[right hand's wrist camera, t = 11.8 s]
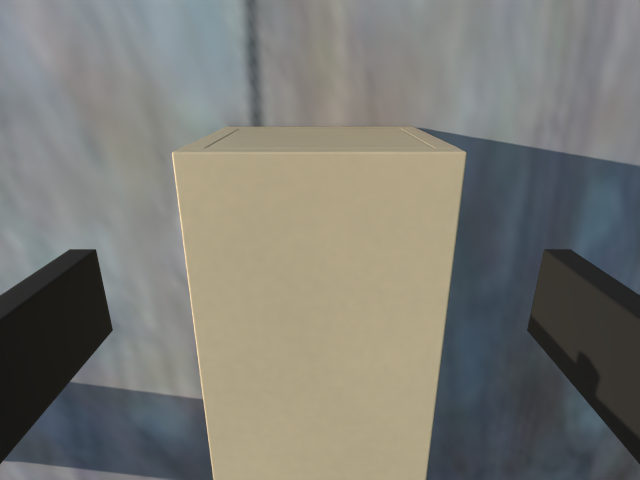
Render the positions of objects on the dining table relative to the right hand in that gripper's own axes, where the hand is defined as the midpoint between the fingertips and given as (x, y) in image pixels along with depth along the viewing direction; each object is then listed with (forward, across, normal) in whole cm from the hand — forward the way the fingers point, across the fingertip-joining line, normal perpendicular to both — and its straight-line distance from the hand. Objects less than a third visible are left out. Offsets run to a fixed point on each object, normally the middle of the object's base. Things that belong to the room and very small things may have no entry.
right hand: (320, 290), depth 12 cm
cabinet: (+15, 0, -7) cm, 16 cm away
